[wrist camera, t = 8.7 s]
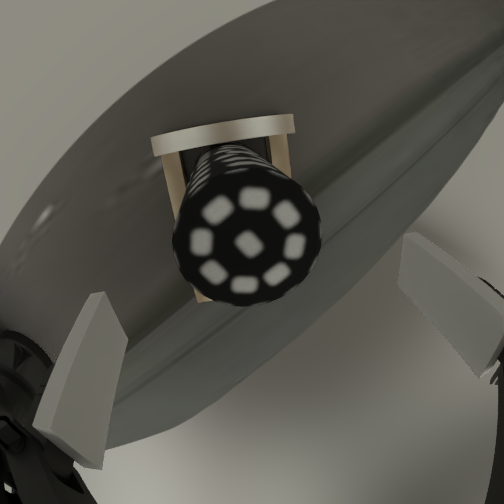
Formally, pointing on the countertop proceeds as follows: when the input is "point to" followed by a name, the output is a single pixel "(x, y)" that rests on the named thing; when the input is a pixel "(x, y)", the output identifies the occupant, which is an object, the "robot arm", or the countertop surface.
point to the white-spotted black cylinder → (244, 228)
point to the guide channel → (221, 132)
